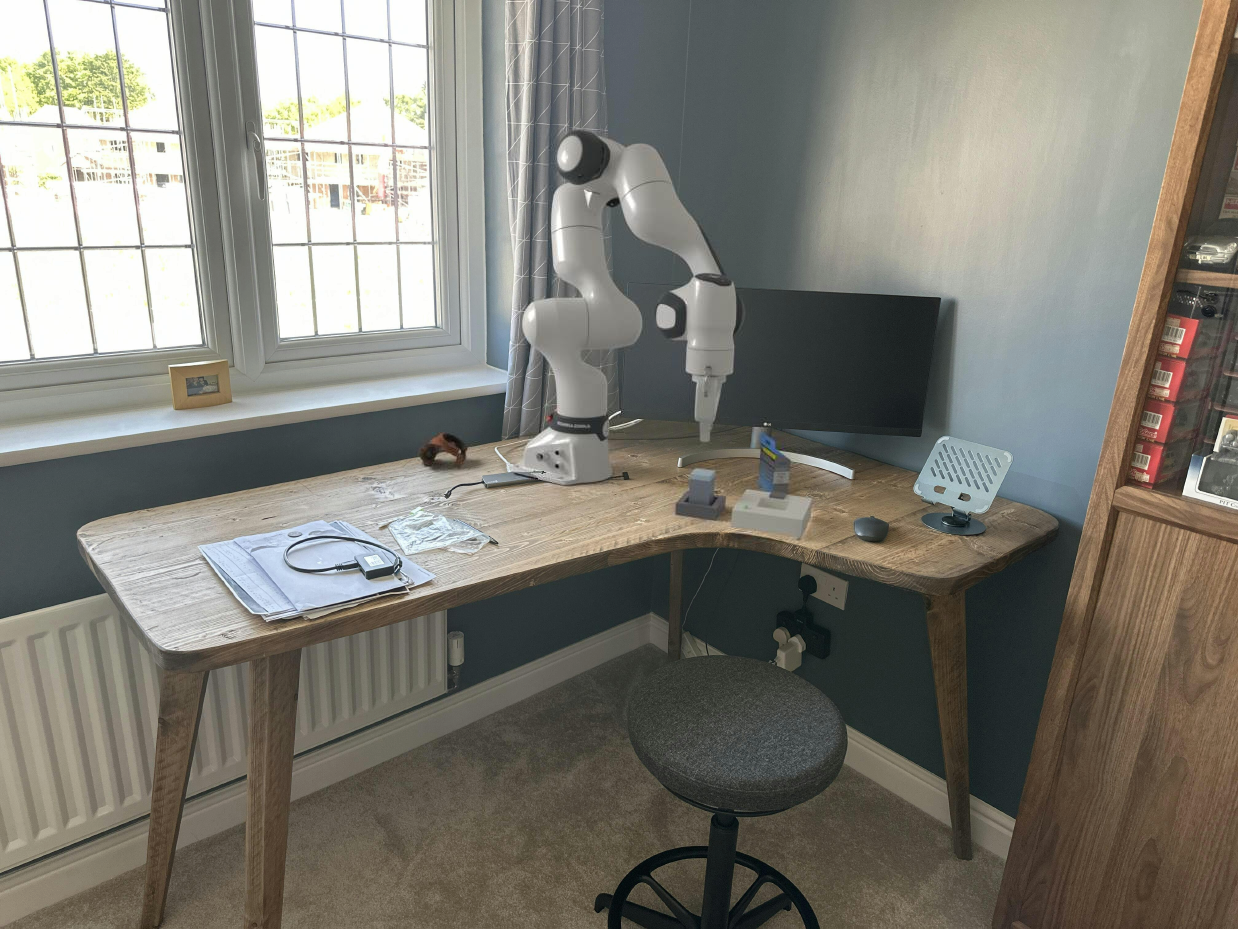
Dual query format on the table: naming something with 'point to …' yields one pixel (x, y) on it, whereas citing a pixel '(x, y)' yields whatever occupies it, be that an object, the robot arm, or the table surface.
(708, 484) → the plug
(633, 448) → the table surface
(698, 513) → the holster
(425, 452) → the orange curved piece
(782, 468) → the label tape cartridge
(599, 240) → the robot arm
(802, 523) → the panel
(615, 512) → the table surface
